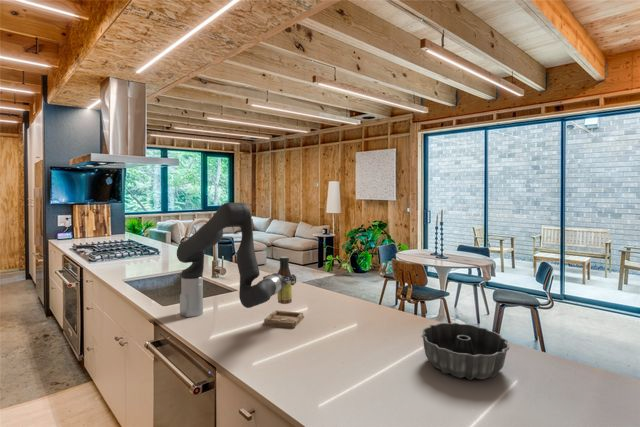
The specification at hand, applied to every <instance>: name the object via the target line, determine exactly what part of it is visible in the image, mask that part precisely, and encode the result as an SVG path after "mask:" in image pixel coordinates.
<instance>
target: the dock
mask: <svg viewBox="0 0 640 427" xmlns="http://www.w3.org/2000/svg"><path fill="white" fill-rule="evenodd" d="M304 318H305V315H304V312H296V311H287V310H275V311H272V312H271V313H270V314H269V315H268V316H266V317H265V318H264V319H263V324H262V325H263V326H269V327H270V326H271V327H279V328H287V329H290V328H291V329H295V328H296V327H297V326H298V325H299V324H300V323H301V322H302V320H304Z"/></svg>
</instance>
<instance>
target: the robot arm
mask: <svg viewBox="0 0 640 427" xmlns="http://www.w3.org/2000/svg"><path fill="white" fill-rule="evenodd" d="M225 228H240V231H241V240H240V243H239V246H238V249H237V254H236V264H237V265H236V266H237V269H238V274H239V292H238V294H239V295H238V296H239V301H240V303H241V304H242V306H243V307H244V308H246V309H251V308H253V307H254V308H255V307H256V306H260V305H261V304H264V303H266V302H268V301H269V300H270V299H271V298H272V296H274V295H276V294H278V292H279V291H281V290H282V289H283V288H284V286H285V285H286V284H289V283H291V285H292V286H295V284H296V283H297V276H296V275H295V274H291V276H281V275H280V274H278V272H277V273H276V272H275V273H272V274H267V275H264V276H263V277H262V280H259V282H257V283H256V284H253V281H254V280H256V279H257V278H258V277H259V276H260V269H259V264H258V261H257V257H256V252H255V244H254V229H253V220H252V212H251V208H250V207H249V205H248V204H247V203H245V202H225V203H223V204H221V206H219V208H218V209H216V212H214V214H213V215H212V217H211V218H210V219H209V220H208V221H207V222H206V223H204V224H203V225H202V226H201V227H200V228H199V229H198V230H197V231H196V232H195V233H193V234H191V236H189V238H187V239H186V240H184V241H182V242H181V243H179V245H178V247H177V249H176V258H177V260H178V261H179V262H181V263H184V264H187V263H191V264H190V266H188V267H187V268H185V269H183V270H181V274H180V275H181V277H180V278H181V280H180V281H181V285H180V286H181V293H179V315H180V316H183V317H185V318H191V317H197V316H201V315H203V313H204V288H203V286H204V285H203V284H204V282H203V281H204V280H203V278H204V277H203V273H204V268H205V266H204V265H205V263H204V262H205V250H209V249H210V248H213V247H214V246H215V245H217V244H218V243H219V242H221V240H222V239H223V236H224V229H225ZM289 278H290V280H289ZM252 284H253V285H252Z"/></svg>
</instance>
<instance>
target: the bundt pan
mask: <svg viewBox="0 0 640 427" xmlns="http://www.w3.org/2000/svg"><path fill="white" fill-rule="evenodd" d="M421 337H422V340H423V348H424V354H425V356H426V358H427V360H428V361H429V362H430V363H431V364H432V366H433V367H435V368H437V369H438V370H441V372H442V373H443V374H446V375H448V374H451V375H452V376H453V377H455V378H464V377H465V378H466V379H467V380H469V381H471V380H473V379H476V380H477V379H478V380H484V379H487V378H493V377H496V376H497V375H498V374H499V372H500V371H501V370H502V369H503V367H504V364H505V360H506V358H507V357H506V356H507V352H508V351H509V350H510V344H509V343H508V339H505V338H503V336H502V335H501V334H500V333H497V332H495V331H492V330H489V329H488V328H485V327H479V326H476V325H473V324H467V323H459V322H458V323H457V322H452V323H450V322H449V323H448V322H440V323H436V324H430V325H428V327H425V328H423V329H422V334H421Z"/></svg>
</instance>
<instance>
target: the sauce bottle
mask: <svg viewBox="0 0 640 427" xmlns="http://www.w3.org/2000/svg"><path fill="white" fill-rule="evenodd" d="M289 261H290V257H289V256H279V269H278V271H277V274H280V275H281V276H291V275H292V274H291V269H290V267H289V266H290V264H289ZM289 280H290V278H289ZM292 298H293V285H291V283H289V284H286V285H285V286H284V288H283V289H282V290H281V291H279V292H278V293H277V302H278V304H281V305H282V304H283V305H287V304H291V303H292V300H293V299H292Z"/></svg>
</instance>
